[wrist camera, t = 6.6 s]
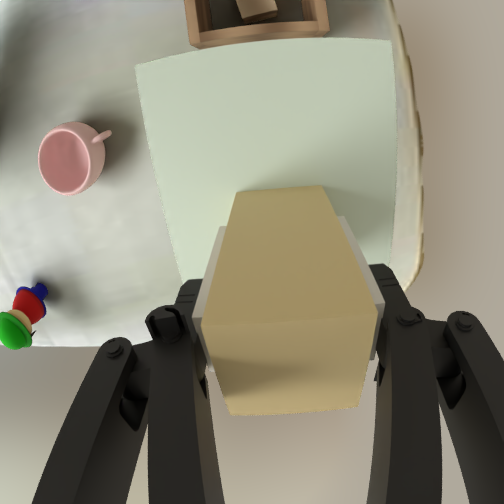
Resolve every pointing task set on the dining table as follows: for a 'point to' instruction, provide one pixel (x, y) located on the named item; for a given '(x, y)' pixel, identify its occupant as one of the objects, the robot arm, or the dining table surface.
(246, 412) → the lid
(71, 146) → the mug
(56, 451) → the robot arm
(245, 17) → the block
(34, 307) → the toy
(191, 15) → the box
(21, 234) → the dining table surface
